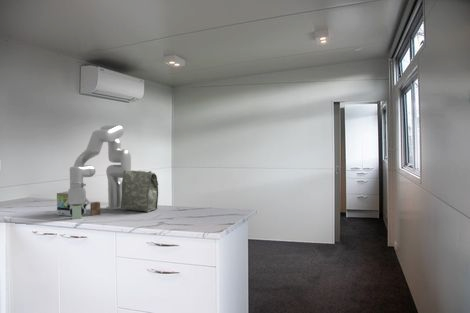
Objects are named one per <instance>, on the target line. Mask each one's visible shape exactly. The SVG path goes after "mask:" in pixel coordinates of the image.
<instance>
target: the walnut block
mask: <svg viewBox="0 0 470 313" xmlns="http://www.w3.org/2000/svg"><path fill="white" fill-rule="evenodd" d="M90 215H91V216H100V215H101V202H100V201H91V202H90Z"/></svg>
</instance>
